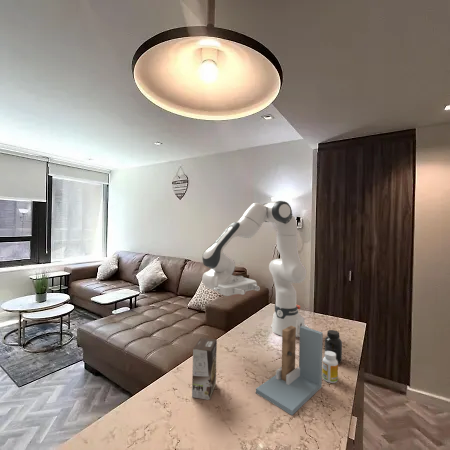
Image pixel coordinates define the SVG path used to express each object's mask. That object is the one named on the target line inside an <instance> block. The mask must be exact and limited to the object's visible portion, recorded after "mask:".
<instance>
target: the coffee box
mask: <svg viewBox="0 0 450 450" xmlns="http://www.w3.org/2000/svg"><path fill="white" fill-rule="evenodd" d="M217 342H218V340H217V339H216V338H204V337H200V338H199V340H198V341H197V343H196V344H195V346H194V347H193V348H192V378H191V379H192V380H191V381H192V383H191V384H192V386H191V397H192V398H195V399H202V400H207V401H209V400H210V399H211V397H212V394H213V393H214V389H215V388H216V384H217V352H218V351H217V347H218V346H217V344H218V343H217Z"/></svg>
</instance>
